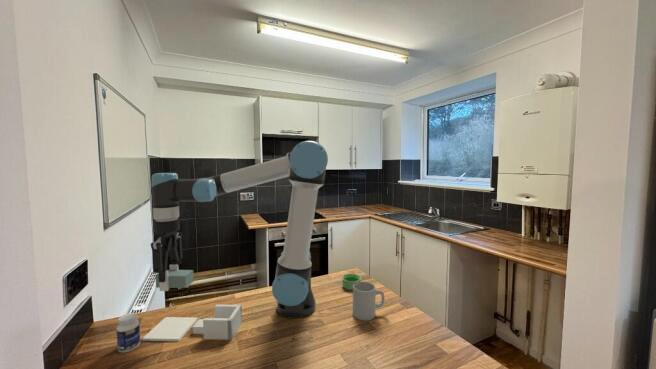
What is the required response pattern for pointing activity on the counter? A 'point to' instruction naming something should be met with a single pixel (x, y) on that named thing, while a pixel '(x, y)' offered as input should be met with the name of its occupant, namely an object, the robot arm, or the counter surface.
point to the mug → (365, 300)
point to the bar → (178, 278)
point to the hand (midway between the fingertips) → (169, 286)
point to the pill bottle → (128, 333)
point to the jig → (220, 323)
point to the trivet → (170, 329)
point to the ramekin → (350, 280)
